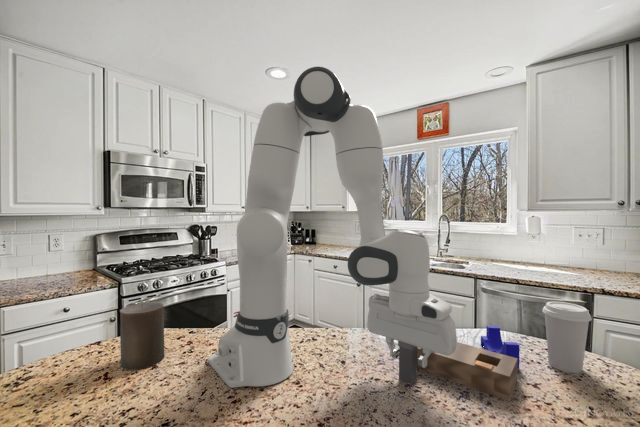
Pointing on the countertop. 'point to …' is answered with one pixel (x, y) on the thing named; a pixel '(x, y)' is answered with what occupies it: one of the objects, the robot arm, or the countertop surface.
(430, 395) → the countertop surface
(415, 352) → the plug
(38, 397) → the countertop surface
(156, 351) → the pillar candle
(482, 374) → the socket block
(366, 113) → the robot arm
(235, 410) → the countertop surface
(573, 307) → the coffee cup
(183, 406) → the countertop surface
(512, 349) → the cable clip
